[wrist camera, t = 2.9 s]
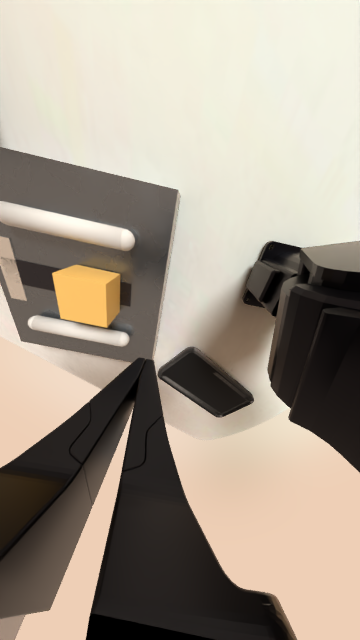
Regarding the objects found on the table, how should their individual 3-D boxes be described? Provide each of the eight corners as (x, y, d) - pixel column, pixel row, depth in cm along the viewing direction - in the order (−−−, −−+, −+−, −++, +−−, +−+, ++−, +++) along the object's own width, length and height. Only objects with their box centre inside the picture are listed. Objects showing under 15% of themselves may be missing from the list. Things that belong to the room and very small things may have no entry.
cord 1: (131, 330, 19) (126, 339, 17) (131, 341, 19) (126, 351, 18) (34, 311, 18) (21, 318, 17) (37, 323, 19) (25, 331, 17)
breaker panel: (180, 196, 15) (177, 189, 12) (155, 350, 24) (150, 366, 21) (-8, 151, 14) (-55, 133, 11) (40, 327, 23) (20, 341, 20)
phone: (218, 418, 30) (154, 375, 25) (217, 412, 31) (156, 369, 26) (257, 400, 27) (192, 347, 22) (255, 394, 28) (192, 342, 23)
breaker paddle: (120, 273, 15) (105, 284, 13) (119, 312, 17) (106, 327, 15) (76, 264, 15) (52, 273, 12) (80, 304, 17) (60, 318, 14)
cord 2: (137, 230, 14) (131, 231, 12) (136, 251, 14) (130, 254, 13) (3, 200, 13) (-19, 197, 12) (10, 223, 14) (-10, 223, 12)
